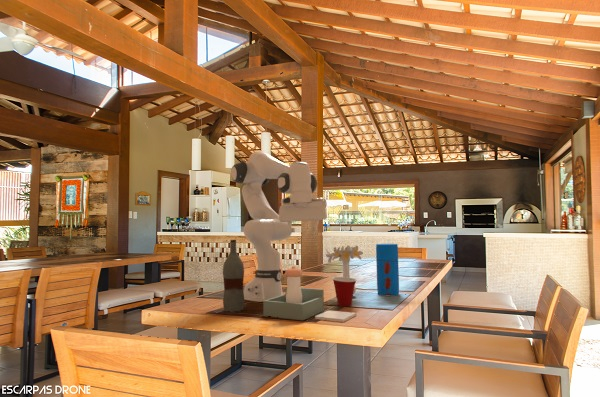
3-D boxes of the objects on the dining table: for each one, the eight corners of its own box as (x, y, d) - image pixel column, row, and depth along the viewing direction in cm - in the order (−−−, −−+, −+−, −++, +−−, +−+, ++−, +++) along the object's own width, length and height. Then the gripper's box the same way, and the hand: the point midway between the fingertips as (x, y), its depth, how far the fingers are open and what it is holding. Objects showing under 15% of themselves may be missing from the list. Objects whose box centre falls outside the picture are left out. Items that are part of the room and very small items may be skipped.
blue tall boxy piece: (377, 295, 213) (376, 244, 214) (377, 292, 223) (375, 243, 224) (399, 295, 211) (398, 244, 212) (398, 292, 221) (397, 243, 223)
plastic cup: (356, 308, 183) (355, 279, 184) (331, 307, 185) (330, 279, 186) (358, 303, 194) (357, 276, 194) (334, 302, 196) (333, 276, 197)
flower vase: (327, 294, 220) (326, 245, 221) (363, 294, 218) (362, 244, 219) (326, 298, 207) (325, 246, 208) (364, 298, 205) (363, 246, 206)
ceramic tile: (314, 318, 164) (314, 316, 164) (328, 312, 175) (328, 310, 175) (343, 322, 158) (343, 319, 158) (355, 315, 169) (355, 313, 169)
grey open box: (263, 316, 171) (263, 293, 172) (286, 307, 187) (286, 286, 187) (302, 320, 162) (302, 296, 163) (324, 311, 178) (323, 289, 178)
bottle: (238, 313, 178) (238, 240, 179) (219, 312, 180) (218, 240, 182) (248, 308, 187) (247, 239, 188) (229, 307, 189) (228, 239, 191)
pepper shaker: (305, 314, 172) (304, 266, 173) (287, 316, 170) (286, 267, 171) (301, 311, 179) (300, 265, 180) (283, 312, 177) (283, 265, 178)
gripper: (327, 197, 183) (329, 230, 182) (280, 201, 187) (282, 233, 186) (325, 196, 177) (327, 230, 176) (277, 200, 181) (278, 233, 180)
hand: (303, 231), depth 181 cm, fingers open, 8 cm apart
